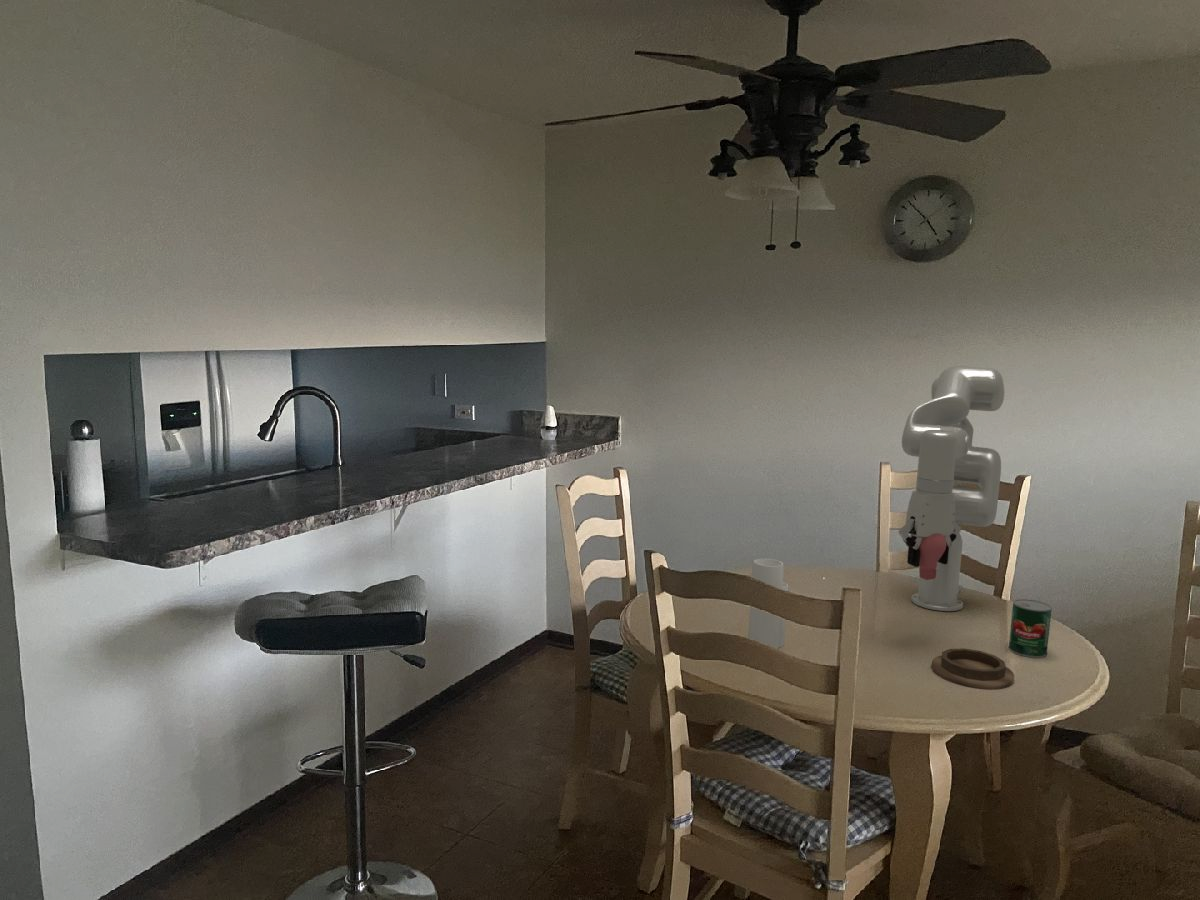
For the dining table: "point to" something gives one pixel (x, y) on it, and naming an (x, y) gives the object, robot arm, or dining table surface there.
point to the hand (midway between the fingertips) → (927, 563)
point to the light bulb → (930, 555)
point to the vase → (761, 622)
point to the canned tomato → (1030, 628)
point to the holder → (973, 669)
